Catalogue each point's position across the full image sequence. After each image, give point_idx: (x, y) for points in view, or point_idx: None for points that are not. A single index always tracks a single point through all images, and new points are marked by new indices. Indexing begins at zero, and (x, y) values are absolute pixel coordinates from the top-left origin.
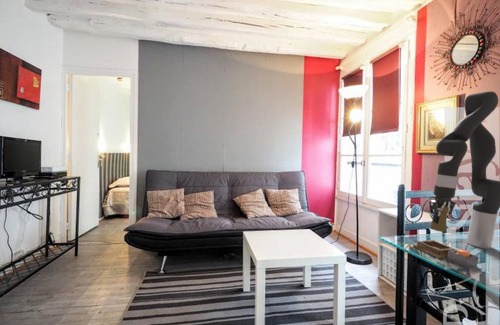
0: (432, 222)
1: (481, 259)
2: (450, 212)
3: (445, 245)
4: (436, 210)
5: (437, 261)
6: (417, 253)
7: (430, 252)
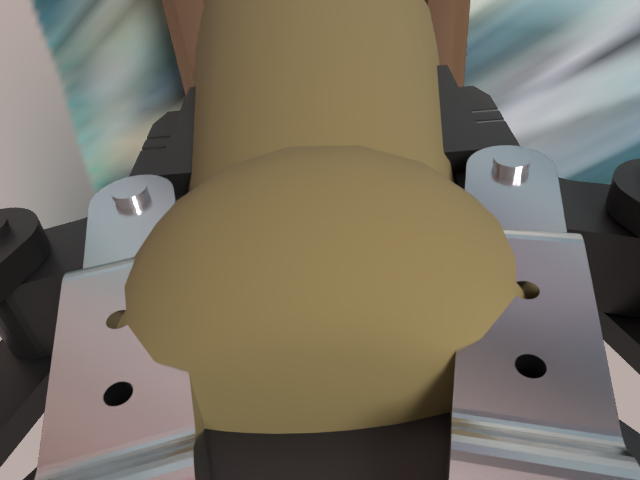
0: (196, 72)
1: (623, 160)
2: (612, 329)
3: (441, 15)
4: (4, 423)
5: (135, 162)
6: (44, 4)
7: (175, 48)
